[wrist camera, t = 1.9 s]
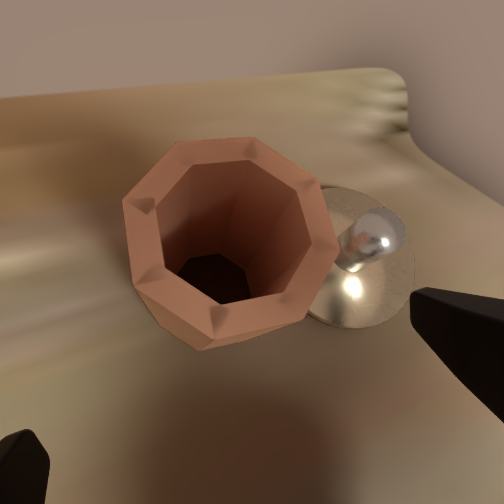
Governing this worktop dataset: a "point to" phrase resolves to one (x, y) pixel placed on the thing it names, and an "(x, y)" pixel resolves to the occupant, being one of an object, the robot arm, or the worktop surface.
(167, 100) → the worktop surface
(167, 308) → the terracotta pot
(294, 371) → the worktop surface
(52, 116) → the worktop surface
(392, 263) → the silver pot lid
